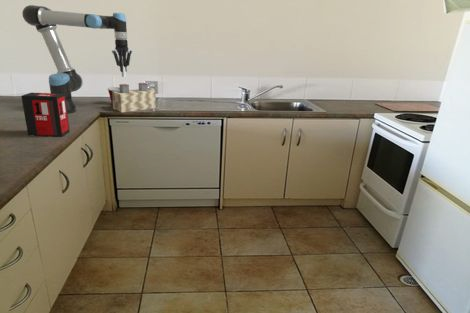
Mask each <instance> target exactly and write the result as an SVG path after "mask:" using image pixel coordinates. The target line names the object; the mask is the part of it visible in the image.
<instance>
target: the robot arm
mask: <svg viewBox="0 0 470 313" xmlns="http://www.w3.org/2000/svg"><path fill="white" fill-rule="evenodd" d="M22 17H23V18H22V19H24V22H26V23H27V24H28V25H30V26H33V27H35V28H36V31H37V32H38V33H40V34H41V35H42V38H43V40H44V43H45V45H46V48H47V49H48V52H49V54H50V55H51V56H50V57H51V58H52V61H53V63H54V65H55V67H56V70H57V72H56V73H52V74H50V75H49V76H48V84H49V91H50V93H54V94H65V99H66V107H67V114H71V113H75V112H77V107H76V105H75V102H74V101H73V96H72V93H73V92H76V91H78V90H80V89H81V88H82V86H83V78H82V77H81V75H80V74H78V73H77V71H76V69H75V68H74V67H72V65H71V64H70V60H69V58H68V56H67V54H66V51H65V49H64V47H63V45H62V42H61V40H60V38H59V35H58V33H57V28H58V27H57V26H67V27H79V28H88V29H100V30H102V29H103V30H106V29H107V30H109V29H110V30H114V38H115V39H114V43H115V44H114V45H115V47H114V48H115V49H113V50H111V53H112V54H113V57H114V60H115V63H116V66H117V67H119V69H120V72H121V77H123V78H126V77H127V74H126V73H127V71H128V70H127V67H129V66H130V62H131V54H132V53H133V51H132V50H130V49H129V47H128V32H127V30H128V29H127V18H126V14H125V13H122V12H113V13H112V15H111V16H110V15H99V14H93V13H92V14H89V13H83V12H81V13H80V12H69V11H59V10H52V9H51V8H48V7H46V6H42V5H33V4H29V5H26V6H25V7H24V8H23V10H22Z"/></svg>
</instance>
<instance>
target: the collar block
mask: <svg viewBox="0 0 470 313" xmlns="http://www.w3.org/2000/svg"><path fill="white" fill-rule="evenodd" d="M112 98H113V105H112V108H113V110H114V111H117V112H119V113H128V112H137V111H144V110H151V109H153V110H154V109H156V108H157V103H156V101H157V100H156V91H155V90H152V89H149V88H148V91H139V88H138V89H129V93H121V92H120V91H113V92H112Z"/></svg>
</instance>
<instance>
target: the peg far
mask: <svg viewBox="0 0 470 313" xmlns="http://www.w3.org/2000/svg"><path fill="white" fill-rule="evenodd" d="M148 86H149V85H148V83H146V82H138V89H139V91H148V89H149V88H148Z"/></svg>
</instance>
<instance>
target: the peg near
mask: <svg viewBox="0 0 470 313" xmlns="http://www.w3.org/2000/svg"><path fill="white" fill-rule="evenodd" d="M118 87H120V92H121V93H129V90H130V85H129V84H127V83H120V84H119V86H118Z"/></svg>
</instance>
